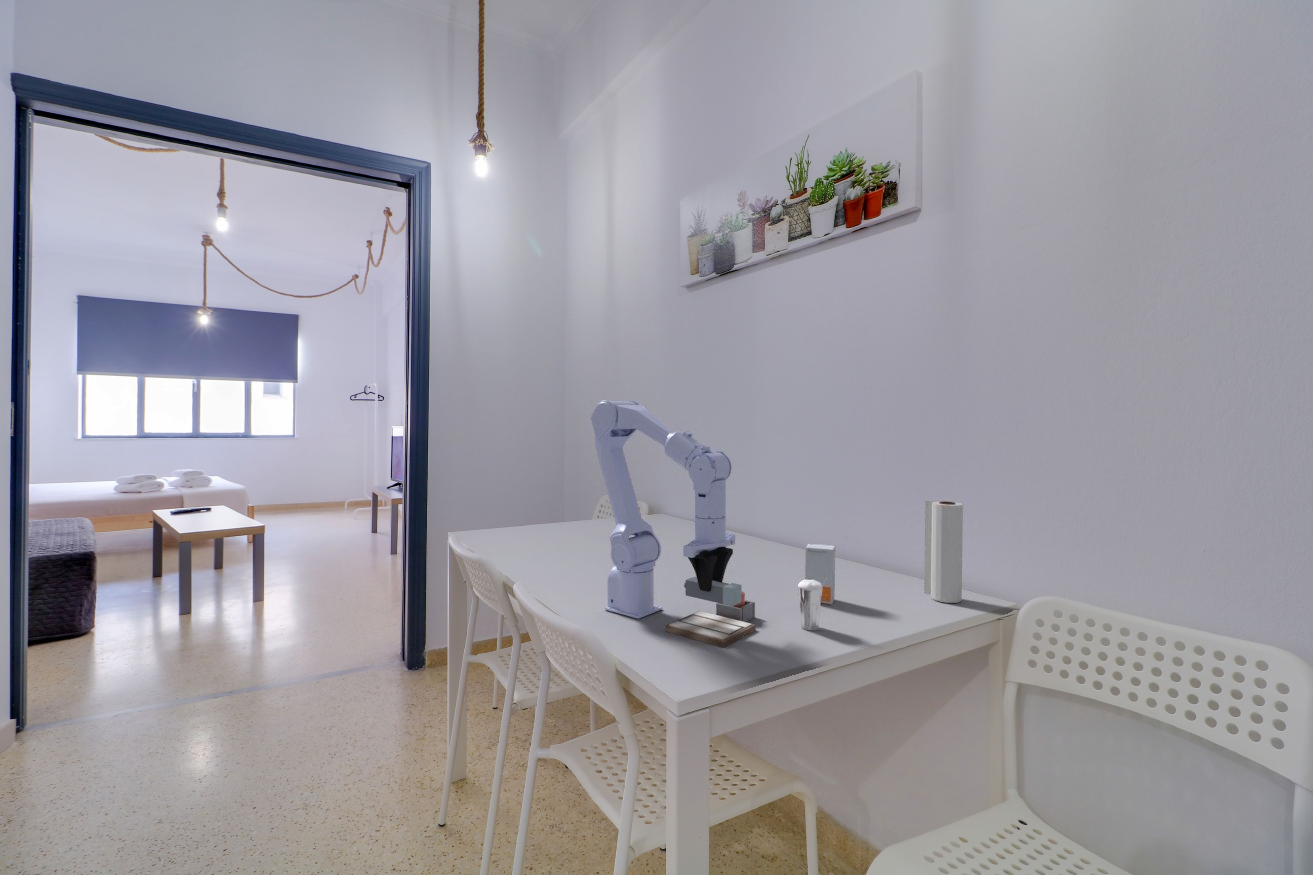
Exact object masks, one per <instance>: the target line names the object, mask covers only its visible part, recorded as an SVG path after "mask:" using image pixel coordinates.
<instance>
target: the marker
mask: <svg viewBox="0 0 1313 875" xmlns="http://www.w3.org/2000/svg"><path fill="white" fill-rule="evenodd" d="M683 588H684V589H685V596H687V597H690V598H694V599H700V600H704V601H708V602H712V603H715V604H717V603H720V604H724V605H728V606H734V605H736V604H738V603H741V591H742V584H738V583H735V582H732V583H731V582H730V583H729V582H728V583H727V582H723V581H722V582H718V581H713V580H712V587H711V591H709V592H707V591H702V590H700V588H699V584H698V580H697V577H696V576H692V577H689V578H687V579H685V581H684V584H683Z"/></svg>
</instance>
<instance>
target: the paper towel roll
mask: <svg viewBox="0 0 1313 875" xmlns="http://www.w3.org/2000/svg"><path fill="white" fill-rule="evenodd" d="M924 504H925V506H924V508H925V509H924V514H925V517H924V575H923V576H924V586H923V587H924V588H923V589H924V592H923V593H924V594H929V595H930V598H931V600H934V601H937V602H941V603H947V604H958V603H961V602H962V597H963V596H962V594H963V592H962V590H963V588H962V586H963V530H964V529H963V523H964V519H963V518H964V511H963V510H964V504H963V503H961V502H955V501H943V500H942V501H940V500H938V501H937V500H925V501H924Z"/></svg>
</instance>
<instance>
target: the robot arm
mask: <svg viewBox="0 0 1313 875" xmlns="http://www.w3.org/2000/svg"><path fill="white" fill-rule="evenodd" d="M592 411H593V412H592V413H591V416H590V420H591V424H592V428H593V431H594V445H595V446H594V447H595V450H596V454H597V458H598V462H599V465H600V469H601V473H602V477H603V481H604V484H605V488H606V490H607V496H608V499H609V503H610V505H611V510H612V513H613V517H614V521H615V528H614V529H613V531H612V533H611V534H610V536H609V540H610V547H611V548H610V556H611V561H612V563H613V565H614V566H612V568H611V569H610V571H609V573H608V575H607V606H604V607H605V608H604V609H605V611H609V612H613V613H616V614H619V615H623V616H627V617H630V618H634V619H642V618H644V617H646V616H649V615H652V614H654V613H657V612H658V611H661V610H663V608H664V607H663V606H661V605H658V604H655V601H654V600H655V599H654V598H655V595H654V594H655V592H654V590H655V589H654V587H655V586H654V583H655V582H654V577H655V576H654V575H655V574H654V567H656V561H658V560H659V559H660V556H661V552H662V547H661V546H662V545H661V542H660V540H659V538H658V537H657V536H656V534H655V533H654V530H653V527H652V525H651V524H649V523H648V522H647V521H645V520H644V519H643V518H642V515H641V511H640V507H639V504H638V500H637V496H636V492H635V490H634V486H633V482H632V478H631V475H630V472H629V467H628V465H627V460H626V456H625V453H624V450H623V447H624V445H625V444H626V442H627V441H628V440H629V439H630V438H631V437H632V436H633V434H635V432H636V431H640V432H641V433H643V434H644V435H646V436H648V438H651V439H652V440H654V441H655V442H656V443H658V444H660V445H661V446H664V448H663V449H664V453H665V456H667V457H668V458H670V459H671V461H672V460H673V461H674V462H675V463H677V464H678V465H679V466H680V467H682V468H683V469H685V470H686V471H687V472H688V475H689V479H691V481H692V483H693V490H694V507H695V508H694V534H695V536H694V539H693V540H691V541H690V542H688V543H687V544H685V545H683V546H682V549H683V556H682V557H685V558H688V561H690V564H691V565H692V567H693V570H694V572H695V577H697V580H698V584H699V588H700V590H702V591H707V592H709V591H711V587H712V580H713V581H718V582H723V580H724V576H725V574H726V573H725V572H726V570H727V566H728V564H729V562H730V559H731V557H732V556H733V554H734V549H733V548H730V546H733V545H736V534H734V533H727V531H726V527H727V526H726V525H727V524H726V523H727V522H726V521H727V519H726V516H727V512H726V510H727V508H726V507H727V506H726V505H727V504H726V502H727V500H726V497H727V495H726V494H727V493H726V492H727V491H726V490H727V489H726V485H727V484H726V483H727V482H726V480H727V479H729V477H730V476H731V474H732V469H733V468H732V462H731V460H730V458H729V457H728V456H727V455H726V454H725V453H724V451H721V450H715V451H712V450H711V447H710V445H708V444H702V443H701V442H700V441H698V440H697V439H695V438H694V437H692V436H693V433H691V432H690V431H689V430H688V431H683V430H678V431H673V430H672V429H671V428H670V427H668V426H667V425H666V424H665V423H664V422H662V421H661V420H659V419H658V418H657V417H655V415H653V414H652V413H650V412H649V411H648V409H647V407H646V406H644V405H642V404H640V403H639V402H638V401H635V400H629V401H626V400H625V401H624V400H623V401H621V400H619V401H617V400H606V399H604V400H600V401H599V402H598V403H597V404H596V405H595V406H594V409H593V410H592Z"/></svg>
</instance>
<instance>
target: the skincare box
mask: <svg viewBox="0 0 1313 875" xmlns="http://www.w3.org/2000/svg"><path fill="white" fill-rule="evenodd" d="M804 555H805V558H804V559H805V564H804V565H805V566H804V580H815V581H818V582H820V583H821V584H822V586H823V589H822V598H821V604H827V605H833V603H834V601H835V592H836V591H835V590H836V588H835V586H836V585H835V584H836V581H835V580H836V546H835V545H832V544H831V545H830V544H829V545H827V544H820V543H819V544H818V543H817V544H815V543H813V544H812V543H807V544H806V546H805V554H804ZM826 578H827V579H826ZM825 579H826V581H825ZM824 581H825V583H824ZM823 584H824V585H823Z"/></svg>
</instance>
